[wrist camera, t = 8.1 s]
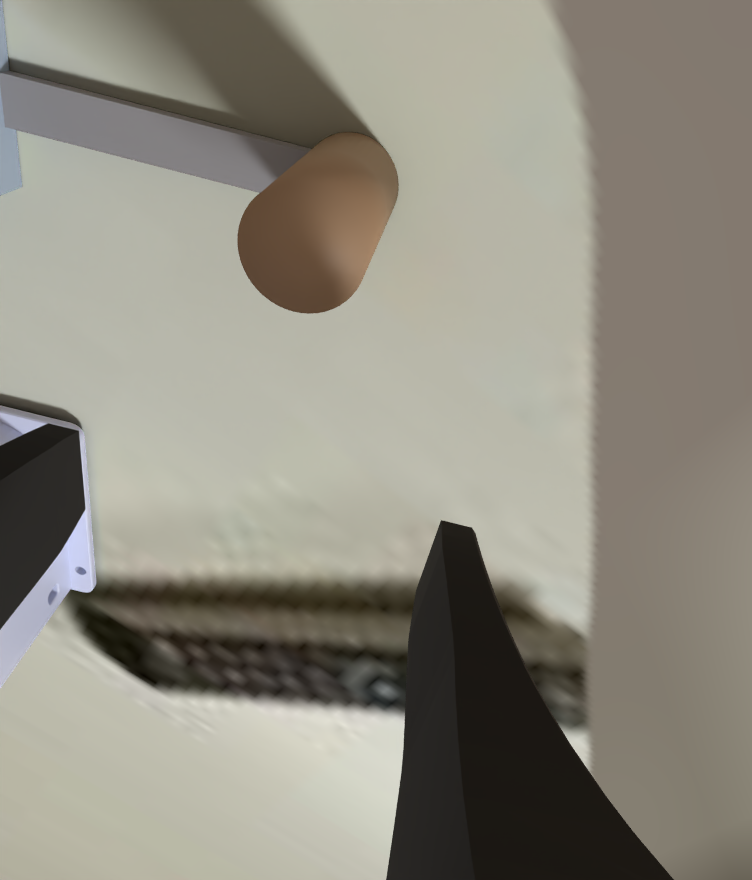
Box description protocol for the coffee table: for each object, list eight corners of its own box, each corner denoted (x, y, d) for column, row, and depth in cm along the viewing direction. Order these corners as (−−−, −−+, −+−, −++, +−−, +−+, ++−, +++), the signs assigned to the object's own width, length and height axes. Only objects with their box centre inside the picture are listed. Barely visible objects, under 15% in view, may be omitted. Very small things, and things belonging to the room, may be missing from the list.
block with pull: (379, 278, 20) (345, 369, 15) (-136, 146, 20) (-340, 193, 15) (418, 102, 17) (392, 142, 12) (-183, -54, 17) (-456, -77, 12)
